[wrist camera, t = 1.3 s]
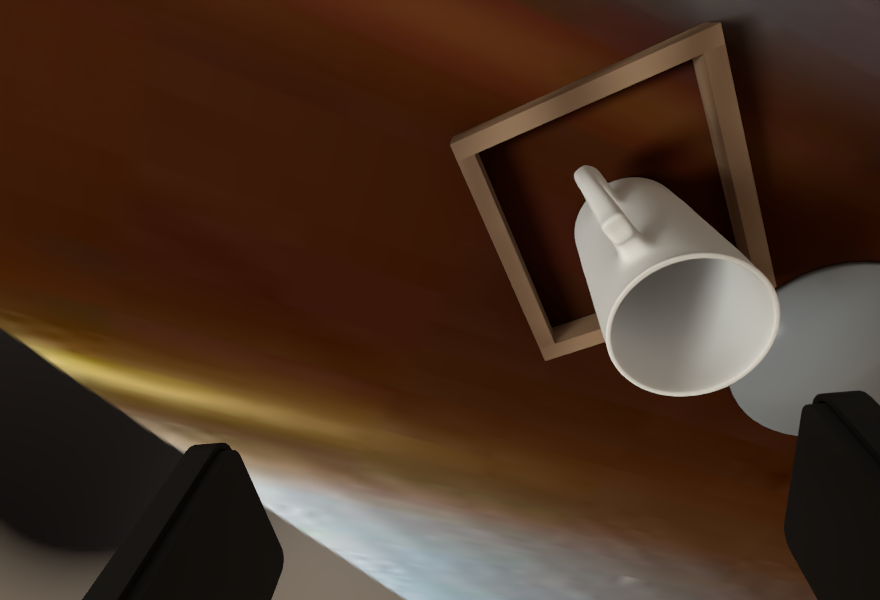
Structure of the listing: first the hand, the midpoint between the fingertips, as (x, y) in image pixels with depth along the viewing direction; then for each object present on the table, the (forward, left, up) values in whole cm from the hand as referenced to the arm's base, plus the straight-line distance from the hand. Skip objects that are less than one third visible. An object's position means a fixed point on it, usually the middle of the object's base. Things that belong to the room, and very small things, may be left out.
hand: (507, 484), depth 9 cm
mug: (-5, +6, -25) cm, 26 cm away
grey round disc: (-15, +21, -25) cm, 36 cm away
